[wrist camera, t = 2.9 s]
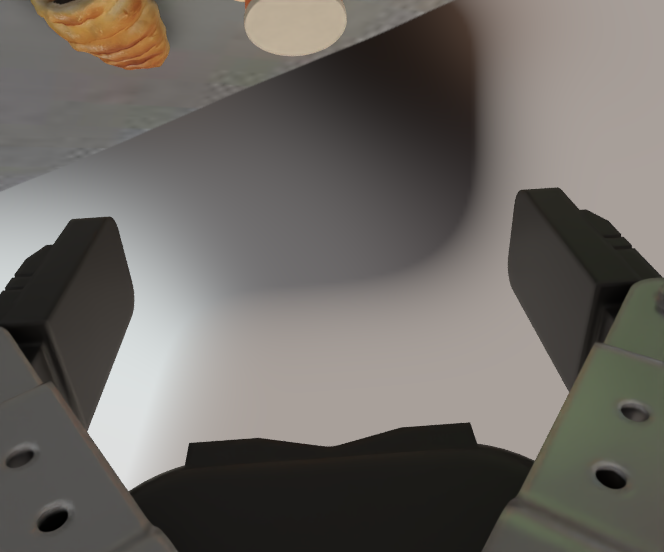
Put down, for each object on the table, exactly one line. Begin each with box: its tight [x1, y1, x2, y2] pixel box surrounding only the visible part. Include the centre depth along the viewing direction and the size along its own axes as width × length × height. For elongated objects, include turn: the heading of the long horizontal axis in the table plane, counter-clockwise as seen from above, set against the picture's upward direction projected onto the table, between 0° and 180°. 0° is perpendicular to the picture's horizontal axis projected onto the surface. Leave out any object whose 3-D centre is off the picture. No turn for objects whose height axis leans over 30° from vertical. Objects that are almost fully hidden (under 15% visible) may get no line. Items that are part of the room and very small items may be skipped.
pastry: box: [31, 0, 170, 70], centre depth 40 cm, size 9×7×4 cm
